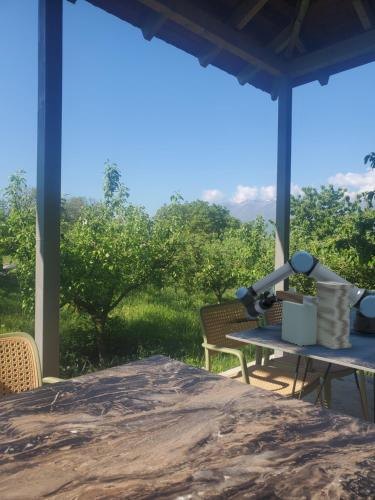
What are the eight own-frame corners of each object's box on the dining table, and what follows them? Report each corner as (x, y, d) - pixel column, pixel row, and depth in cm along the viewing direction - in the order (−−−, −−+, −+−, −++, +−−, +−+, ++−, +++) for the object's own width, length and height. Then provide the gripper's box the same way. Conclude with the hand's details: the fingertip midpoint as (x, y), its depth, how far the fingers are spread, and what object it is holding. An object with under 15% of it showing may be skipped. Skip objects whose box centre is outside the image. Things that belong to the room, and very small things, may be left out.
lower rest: (297, 337, 205) (298, 300, 205) (316, 344, 193) (317, 304, 192) (281, 339, 201) (282, 301, 201) (299, 345, 189) (300, 305, 188)
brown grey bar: (281, 297, 213) (281, 290, 213) (317, 305, 187) (318, 297, 187) (275, 298, 212) (275, 290, 212) (311, 306, 186) (311, 297, 186)
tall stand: (330, 340, 201) (332, 281, 201) (352, 347, 189) (354, 284, 188) (312, 342, 197) (313, 282, 196) (332, 349, 184) (334, 285, 183)
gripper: (283, 309, 228) (305, 295, 211) (246, 311, 218) (266, 297, 201) (280, 297, 231) (301, 282, 214) (243, 299, 221) (262, 283, 204)
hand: (284, 289), depth 208 cm, fingers open, 13 cm apart
